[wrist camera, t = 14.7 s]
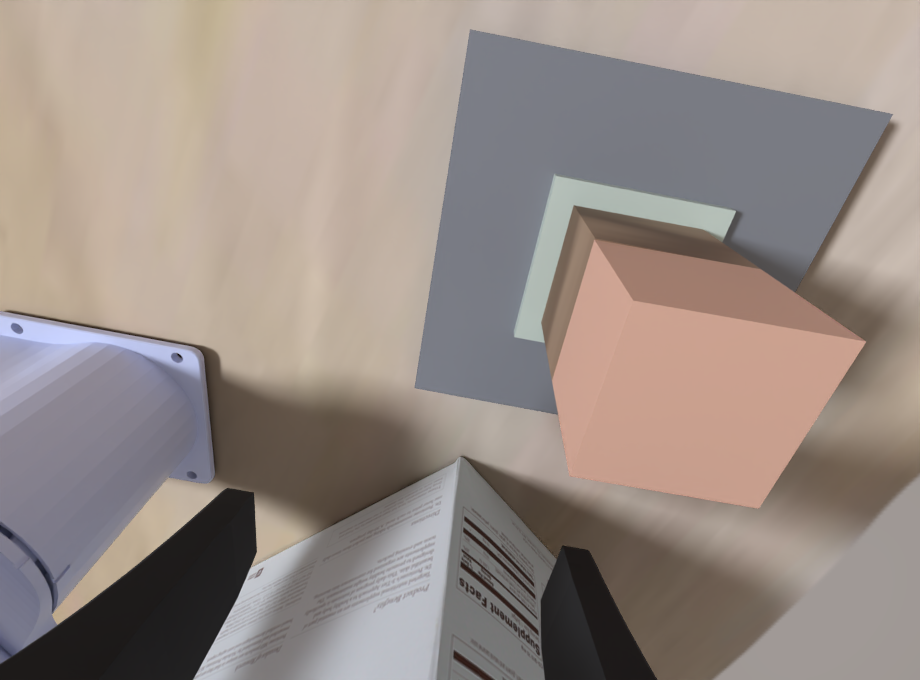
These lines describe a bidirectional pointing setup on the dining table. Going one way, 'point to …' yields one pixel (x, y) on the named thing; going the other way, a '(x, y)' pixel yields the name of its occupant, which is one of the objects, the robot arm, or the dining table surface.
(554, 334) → the walnut block
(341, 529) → the supplement box
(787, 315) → the terracotta block
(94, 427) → the robot arm
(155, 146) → the dining table surface
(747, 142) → the slate baseplate
